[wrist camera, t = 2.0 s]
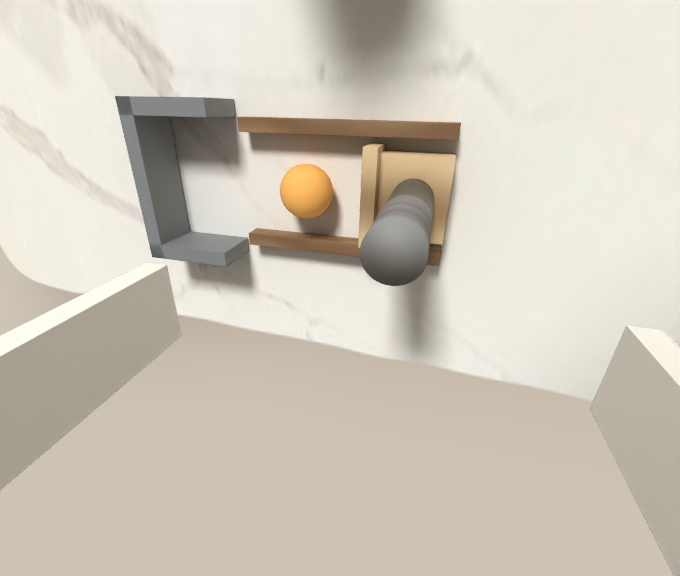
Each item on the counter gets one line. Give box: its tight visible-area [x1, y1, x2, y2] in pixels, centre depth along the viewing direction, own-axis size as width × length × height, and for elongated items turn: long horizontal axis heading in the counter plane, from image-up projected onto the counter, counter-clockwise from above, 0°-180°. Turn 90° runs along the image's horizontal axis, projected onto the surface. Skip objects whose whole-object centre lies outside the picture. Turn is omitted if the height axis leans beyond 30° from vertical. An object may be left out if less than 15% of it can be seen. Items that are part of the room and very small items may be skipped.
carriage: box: [358, 143, 456, 286], centre depth 21 cm, size 7×6×13 cm
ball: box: [280, 164, 333, 218], centre depth 27 cm, size 4×4×4 cm
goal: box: [115, 96, 249, 266], centre depth 29 cm, size 12×7×4 cm, turn 179°
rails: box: [237, 117, 461, 266], centre depth 28 cm, size 10×16×2 cm, turn 89°
